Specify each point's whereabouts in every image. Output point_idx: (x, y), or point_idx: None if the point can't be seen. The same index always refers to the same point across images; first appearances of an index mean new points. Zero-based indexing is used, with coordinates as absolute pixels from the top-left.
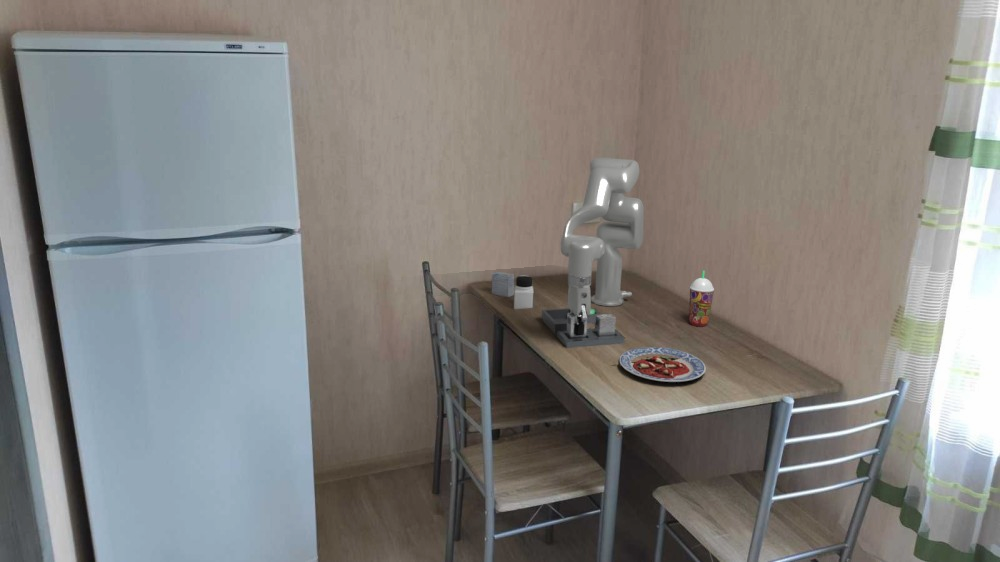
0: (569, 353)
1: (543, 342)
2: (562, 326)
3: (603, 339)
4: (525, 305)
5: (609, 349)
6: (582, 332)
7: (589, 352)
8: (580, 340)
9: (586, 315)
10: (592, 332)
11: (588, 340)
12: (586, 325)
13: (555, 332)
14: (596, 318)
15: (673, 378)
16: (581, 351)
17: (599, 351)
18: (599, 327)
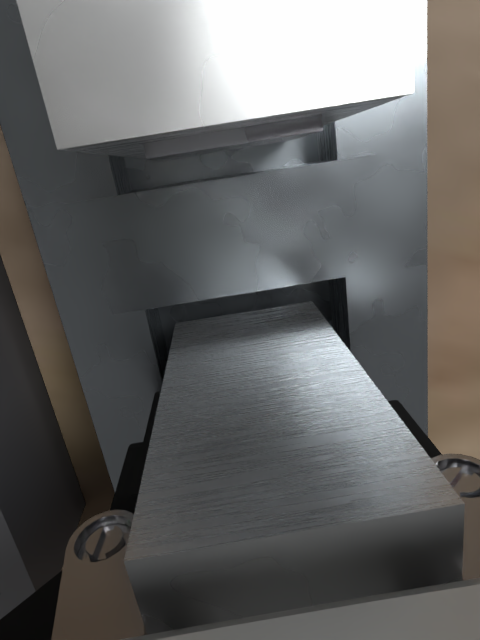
0: (448, 439)
1: None
2: (29, 520)
3: (425, 98)
4: None
5: (435, 44)
6: (397, 400)
7: (465, 278)
8: (414, 387)
9: (444, 525)
10: (169, 198)
11: (425, 302)
12: (366, 380)
13: (72, 529)
14: (141, 144)
15: None
16: (428, 343)
17: (463, 175)
18: (327, 122)
